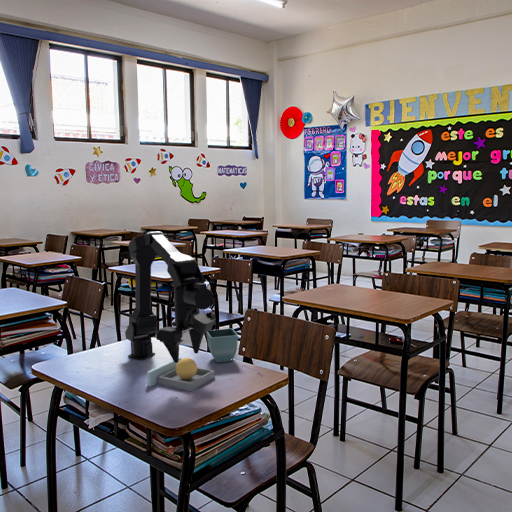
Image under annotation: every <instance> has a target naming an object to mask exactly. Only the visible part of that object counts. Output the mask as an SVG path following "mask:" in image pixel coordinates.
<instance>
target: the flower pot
mask: <svg viewBox="0 0 512 512" xmlns="http://www.w3.org/2000/svg"><path fill="white" fill-rule="evenodd" d="M205 334H206V340H207V345H208V349H209V352H210V354H211V356H212V358H213V359H214V361H215V363H216V364H217V363H224V362H232V361H233V360H234V359H235V357H236V353H237V349H238V342H239V340H238V339H239V335H238V333H237V332H236V331H235V330H234V328H221V329H213V330H212V329H211V331H208V332H206V333H205ZM231 359H232V360H231Z"/></svg>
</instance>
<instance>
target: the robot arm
mask: <svg viewBox="0 0 512 512" xmlns="http://www.w3.org/2000/svg"><path fill="white" fill-rule="evenodd" d="M128 251H129V257H130V259H132V262H133V263H134V265H135V270H134V271H135V272H134V273H135V275H134V276H135V284H134V285H135V286H134V287H135V291H134V292H135V293H134V294H135V295H134V296H135V298H134V299H135V302H134V305H135V308H134V309H133V312H132V313H131V315H130V316H129V324H128V325H127V328H126V330H125V332H124V335H125V339H126V340H128V341H129V342H130V352H131V353H130V354H128V355H127V357H128V358H131V359H137V360H142V361H144V360H145V359H147V358H150V357H153V356H155V355H156V353H155V352H153V342H152V338H156V341H159V342H161V343H162V344H163V345H164V347H165V348H166V350H167V351H168V353H169V355H170V357H171V359H172V360H173V361H174V362H175V363H178V360H179V356H180V345H181V344H182V342H183V341H184V339H182V338H183V333H186V332H188V334H189V337H190V338H189V339H190V341H191V346H192V350H193V353H194V354H198V353H199V351H200V347H201V343H202V341H203V338H204V336H205V334H207V333H206V332H208V331H211V330H212V328H213V326H214V325H216V324H217V322H216V320H217V319H216V313H215V312H213V311H208V312H207V313H201V312H200V310H207V309H209V308H210V307H211V306H212V304H213V302H214V294H213V292H212V291H211V289H209V288H207V283H205V279H204V275H203V273H202V271H201V269H200V266H199V264H198V262H197V261H196V260H195V258H193V257H192V256H190V255H188V254H184V253H181V252H180V251H179V250H178V249H177V248H176V247H175V246H174V245H173V244H172V243H171V242H170V241H169V240H168V239H167V237H165V234H164V232H162V231H158V230H157V231H148V232H146V233H144V234H142V235H140V236H137V237H132V239H131V240H130V241H129V242H128ZM157 255H158V256H159V257H160V258H161V259H162V260H163V262H164V263H165V264H166V266H167V268H166V269H167V270H166V272H167V273H168V275H169V276H170V278H171V279H172V282H171V283H170V286H171V287H173V296H174V297H173V298H174V303H173V304H174V306H173V307H171V308H170V309H171V312H174V321H171V326H165V327H163V328H160V329H159V328H158V322H157V321H158V317H157V315H156V314H155V313H154V311H153V310H152V307H151V306H152V304H151V303H152V299H151V298H152V265H153V263H154V261H155V259H156V258H157ZM157 329H158V330H157Z"/></svg>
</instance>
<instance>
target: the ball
mask: <svg viewBox="0 0 512 512" xmlns="http://www.w3.org/2000/svg"><path fill="white" fill-rule="evenodd" d="M197 367H198V366H197V363H196V362H195V360H193V359H192V358H191V357H183V358H181V360H180V361H179V362H178V363H177V365H176V373H177V375H178V376H179V377H180V378H182V379H185V380H187V379H191V378H192V377H194V375H195V374H196V372H197Z"/></svg>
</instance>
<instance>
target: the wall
mask: <svg viewBox="0 0 512 512" xmlns="http://www.w3.org/2000/svg"><path fill="white" fill-rule="evenodd" d="M181 359H182V357H179V360H178V362H179V361H180V360H181ZM176 365H177V363H175V362H174V361H173V359H172V360H169V361H168V362H165V363H164V364H161V365H159V366H157V367H154V368H152V369H150V370H148V371H146V372H147V379H146V380H147V387H152V386H154V385H156V384H158V377H159V376H161V375H163V374H165V373H167V372H169V371H171V370H173V369H175V368H176Z"/></svg>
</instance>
